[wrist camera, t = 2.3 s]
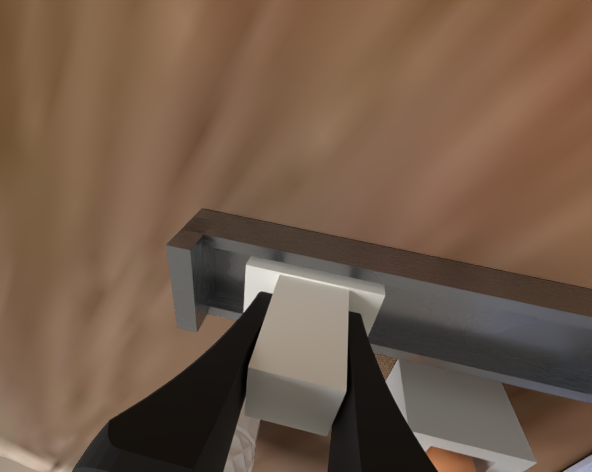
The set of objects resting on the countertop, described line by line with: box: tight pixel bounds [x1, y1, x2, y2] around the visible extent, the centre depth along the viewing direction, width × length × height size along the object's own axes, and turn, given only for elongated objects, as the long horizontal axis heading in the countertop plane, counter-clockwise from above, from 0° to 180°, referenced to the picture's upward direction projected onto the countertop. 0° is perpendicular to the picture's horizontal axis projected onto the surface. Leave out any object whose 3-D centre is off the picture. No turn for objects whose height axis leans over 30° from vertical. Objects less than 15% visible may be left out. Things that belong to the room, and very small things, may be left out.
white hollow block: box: [386, 359, 537, 472], centre depth 17 cm, size 6×5×4 cm
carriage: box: [243, 256, 385, 437], centre depth 12 cm, size 6×3×6 cm, turn 82°
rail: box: [166, 209, 592, 404], centre depth 13 cm, size 22×5×3 cm, turn 82°
